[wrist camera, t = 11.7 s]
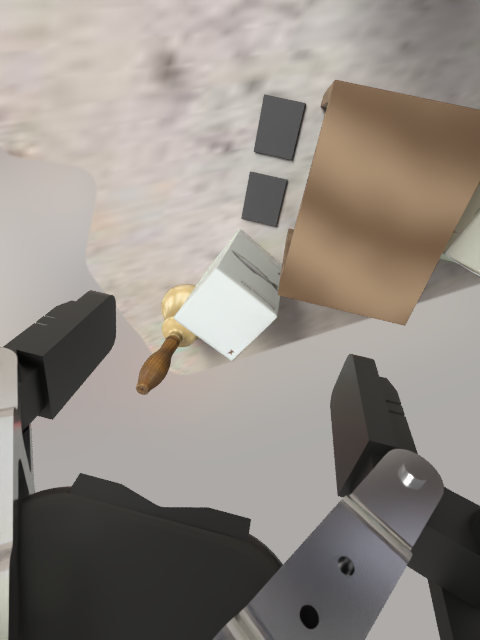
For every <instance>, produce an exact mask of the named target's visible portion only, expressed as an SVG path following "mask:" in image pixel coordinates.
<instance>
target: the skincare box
mask: <svg viewBox="0 0 480 640" xmlns="http://www.w3.org/2000/svg"><path fill="white" fill-rule="evenodd" d="M443 254H444V255H445V256H447V257H448V258H450V259H452V260H453V261H455V262H456V263H458V264H459V265H461V266H463V267H464V268H466V269H468V270H469V271H471V272H473V273H475V274H476V275H478V276H480V181H479V183H478V185H477V187H476V189H475V191H474V193H473V195H472V197H471V199H470V201H469V203H468V205H467V207H466V209H465V210H464V212H463V214H462V216H461V218H460V220H459V222H458V224H457V226H456V228H455V230H454V232H453V234H452V236H451V238H450V239H449V241H448V243H447V245H446V247H445V249H444V251H443Z"/></svg>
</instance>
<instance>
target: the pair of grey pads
mask: <svg viewBox="0 0 480 640" xmlns="http://www.w3.org/2000/svg"><path fill="white" fill-rule="evenodd" d="M304 107H305V103H302V102H297V101H292V100H288V99H283V98H278V97H274V96H269V95H264V98H263V104H262V109H261V115H260V120H259V126H258V131H257V137H256V142H255V148H254V152H258V153H263V154H267V155H272V156H277V157H281V158H286V159H290V160H292V157H293V153H294V148H295V144H296V140H297V136H298V132H299V128H300V123H301V119H302V115H303V111H304ZM286 182H287V180H286V179H281V178H277V177H272V176H268V175H263V174H259V173H254V172H250V175H249V180H248V186H247V191H246V197H245V202H244V207H243V213H242V218H241V219H246V220H250V221H254V222H259V223H263V224H267V225H272V226H276V224H277V220H278V215H279V211H280V207H281V203H282V199H283V195H284V190H285V186H286Z"/></svg>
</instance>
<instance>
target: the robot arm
mask: <svg viewBox="0 0 480 640" xmlns="http://www.w3.org/2000/svg"><path fill="white" fill-rule="evenodd" d="M115 338H116V301H115V297H114V296H113V295H109V294H105V293H100V292H96V291H92V290H91V291H88V292H87V293H86V294H84V295H83V296H82V297H81V298H80V299H78V300H77V301H69V302H67V303H64V304H61V305H59V306H56V307H55V308H54V309H52V310H51V311H50V312H48V313H47V314H46V315H45V317H44V316H43V317H42V318H40V319H39V320H38V321H37V322H36V324H35V323H34V324H33V325H31V326H30V327H29V328H27V329H26V330H25V331H23V332H22V333H21V334H19V335H18V336H17V337H15V338H14V339H13V340H12V341H10V342H9V343H8V344H7V345H5V346H4V347H0V640H365V638H366V637H367V635H368V633H369V631H370V630H371V628H372V626H373V624H374V623H375V621H376V619H377V617H378V616H379V614H380V612H381V610H382V608H383V607H384V605H385V603H386V601H387V600H388V598H389V596H390V594H391V593H392V591H393V589H394V587H395V586H396V584H397V582H398V580H399V579H400V577H401V575H402V573H403V572H404V570H405V568H406V566H408V567H410V568H411V569H413V570H415V571H416V572H418V573H419V574H421V575H423V576H424V577H426V578H427V579H428V583H429V588H430V593H431V598H432V602H433V607H434V611H435V616H436V621H437V626H438V631H439V635H440V640H480V506H479V505H477V504H475V503H473V502H471V501H469V500H468V499H466V498H464V497H462V496H460V495H458V494H456V493H454V492H452V491H450V490H449V489H447V488H446V487H444V484H443V481H442V479H441V477H440V475H439V473H438V472H437V470H436V469H435V468H434V467H433V466H432V465H431V464H430V463H429V462H428V461H427V460H425V459H424V458H423V457H421V456H420V455H418V453H417V450H416V448H415V444H414V441H413V438H412V436H411V432H410V430H409V426H408V423H407V420H406V417H404V411H403V408H402V406H401V402H400V399H399V396H398V393H397V391H396V389H395V388H394V387H393V385H392V384H391V383H390V382H389V381H388V379H387V378H383V377H379V375H378V371H377V368H376V364H375V361H374V360H373V359H370V358H366V357H362V356H357V355H353V354H349V355H348V357H347V359H346V361H345V363H344V366H343V368H342V370H341V372H340V375H339V377H338V379H337V382H336V384H335V386H334V389H333V392H332V396H331V403H330V408H331V421H332V433H333V444H334V457H335V469H336V480H337V492H338V496H340V497H344V498H343V499H342V500H341V501H340V502H339V503H338V504H337V505H336V507H334V508H333V510H332V511H331V512H330V513H329V514H328V515H327V516H326V517H325V519H324V520H323V521H322V522H321V523H320V524H319V525H318V526H317V527H316V529H315V530H314V531H313V532H312V533H311V534H310V535H309V536H308V538H307V539H306V540H305V541H304V542H303V543H302V544H301V545H300V547H299V548H298V549H297V550H296V551H295V552H294V554H292V555H291V557H290V558H289V559H288V560H287V561H286V562H285V563H284V564H282V563H281V561H280V560H279V559H278V558H277V557H276V555H275V554H274V553H273V552H272V551H271V550H270V549H269V548H268V547H267V546H266V545H265V544H263V543H262V542H261V541H259V540H258V539H257V538H255V537H253V536H252V535H250V534H249V529H250V522H251V519H249V518H245V517H241V516H238V515H234V514H230V513H226V512H223V511H219V510H215V509H211V508H191V507H189V508H188V507H185V508H184V507H181V508H179V507H176V508H175V507H160V506H157V505H155V504H153V503H152V502H150V501H149V500H147V499H145V498H144V497H142V496H140V495H139V494H137V493H135V492H134V491H132V490H130V489H129V488H127V487H125V486H124V485H122V484H119V483H115V482H111V481H108V480H104V479H100V478H97V477H93V476H89V475H86V474H82V473H80V474H79V476H78V478H77V479H76V481H75V482H74V484H73V485H72V487H59V488H53V489H48V490H43V491H40V492H37V493H35V488H34V474H33V473H34V472H33V450H32V429H31V424H30V423H31V422H32V421H33V420H34V419H35V418H36V416H41V417H45V418H48V419H53V418H54V417H55V416H56V415H57V414H58V412H59V411H60V410H61V409H62V408H63V406H64V405H65V404H66V403H67V402H68V401H69V399H70V398H71V397H72V396H73V395H74V393H75V392H76V391H77V390H78V389H79V387H80V386H81V385H82V384H83V383H84V381H85V380H86V379H87V377H89V375H90V374H91V373H92V372H93V371H94V369H95V368H96V367H97V366H98V365H99V364H100V362H101V361H102V360H103V359H104V358H105V356H106V355H107V354H108V353H109V351H110V350H111V349H112V347H113V345H114V342H115Z"/></svg>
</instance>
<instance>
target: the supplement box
mask: <svg viewBox="0 0 480 640" xmlns="http://www.w3.org/2000/svg"><path fill="white" fill-rule="evenodd" d="M281 269H282V264H281V263H279V262H278V261H277V260H275V259H274V258H273V257H272V256H270V255H269V254H268V253H267V252H266V251H264V250H263V249H262V248H261V247H260V246H258V245H257V244H256V243H255V242H254V241H253V240H252V239H250V238H249V237H248V236H247V235H246V234H245V233H244V232H243V231H242V230H239V231H238V232H237V233H236V234H235V236H234V237H233V238H232V239H231V241H230V242H229V243H228V244H227V246H226V247H225V248H224V249H223V251H222V252H221V253H220V254H219V256H218V257H217V258H216V259H215V261H214V262H213V263H212V265H211V266H210V267H209V268H208V270H207V271H206V272H205V274H204V275H203V277H202V278H201V279H200V281H199V282H198V284H197V285H196V286H195V288H194V289H193V291H192V292H191V294H190V295H189V297H188V298H187V300H186V301H185V303H184V304H183V305H182V307H181V308H180V310H179V311H178V312H177V313H176V315H175V316H174V319H175V320H176V321H177V322H178V323H180V324H181V325H182V326H184V327H185V328H187V329H188V330H189V331H191V332H192V333H193V334H195V335H196V336H198V337H199V338H200V339H202V340H203V341H204V342H205V343H207V344H208V345H210V346H211V347H213V348H214V349H215V350H217V351H218V352H219V353H221V354H222V355H223V356H225V357H226V358H228V359H229V360H230V361H233V360H234V359H235V358H236V357H237V356H238V355H239V354H240V353H241V352H242V351H243V350H244V349H245V348H246V347H247V346H248V345H249V344H250V343H251V342H252V341H253V340H254V339H255V338H256V337H257V336H258V335H260V334H261V333H262V332H263V331H264V330H265V329H266V328H267V327H268V326H269V325H270V324H271V323H272V322H273V321H274V320H275V319H276V318H277V316H278V310H279V304H280V298H281V296H280V295H277V294H278V288H279V282H280V276H281Z"/></svg>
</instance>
